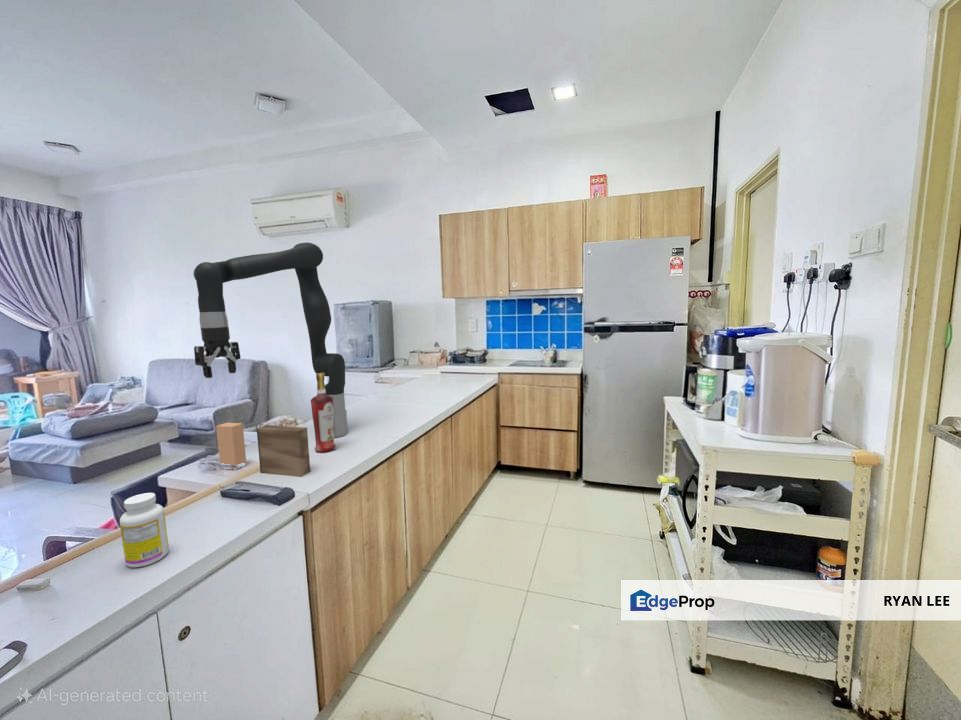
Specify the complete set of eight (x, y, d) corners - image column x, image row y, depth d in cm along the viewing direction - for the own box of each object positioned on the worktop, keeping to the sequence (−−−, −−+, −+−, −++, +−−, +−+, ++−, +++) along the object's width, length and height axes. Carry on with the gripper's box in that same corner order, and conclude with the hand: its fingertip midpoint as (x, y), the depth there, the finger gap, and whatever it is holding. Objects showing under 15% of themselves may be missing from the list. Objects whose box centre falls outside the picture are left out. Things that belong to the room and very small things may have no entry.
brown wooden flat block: (271, 468, 122) (267, 424, 121) (310, 472, 119) (307, 427, 117) (260, 473, 118) (256, 428, 117) (301, 477, 115) (297, 431, 113)
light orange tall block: (231, 464, 126) (227, 422, 124) (246, 465, 125) (242, 423, 123) (220, 468, 122) (216, 426, 121) (235, 470, 121) (231, 427, 119)
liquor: (327, 445, 143) (322, 371, 140) (340, 449, 139) (335, 372, 136) (309, 452, 137) (304, 374, 133) (323, 455, 133) (317, 375, 130)
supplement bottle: (143, 549, 80) (135, 491, 79) (177, 547, 81) (170, 489, 79) (116, 570, 74) (107, 507, 72) (152, 568, 74) (144, 505, 73)
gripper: (202, 327, 117) (209, 380, 119) (242, 324, 130) (248, 371, 133) (183, 327, 119) (191, 379, 121) (225, 324, 132) (231, 371, 135)
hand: (221, 375), depth 127 cm, fingers open, 8 cm apart
